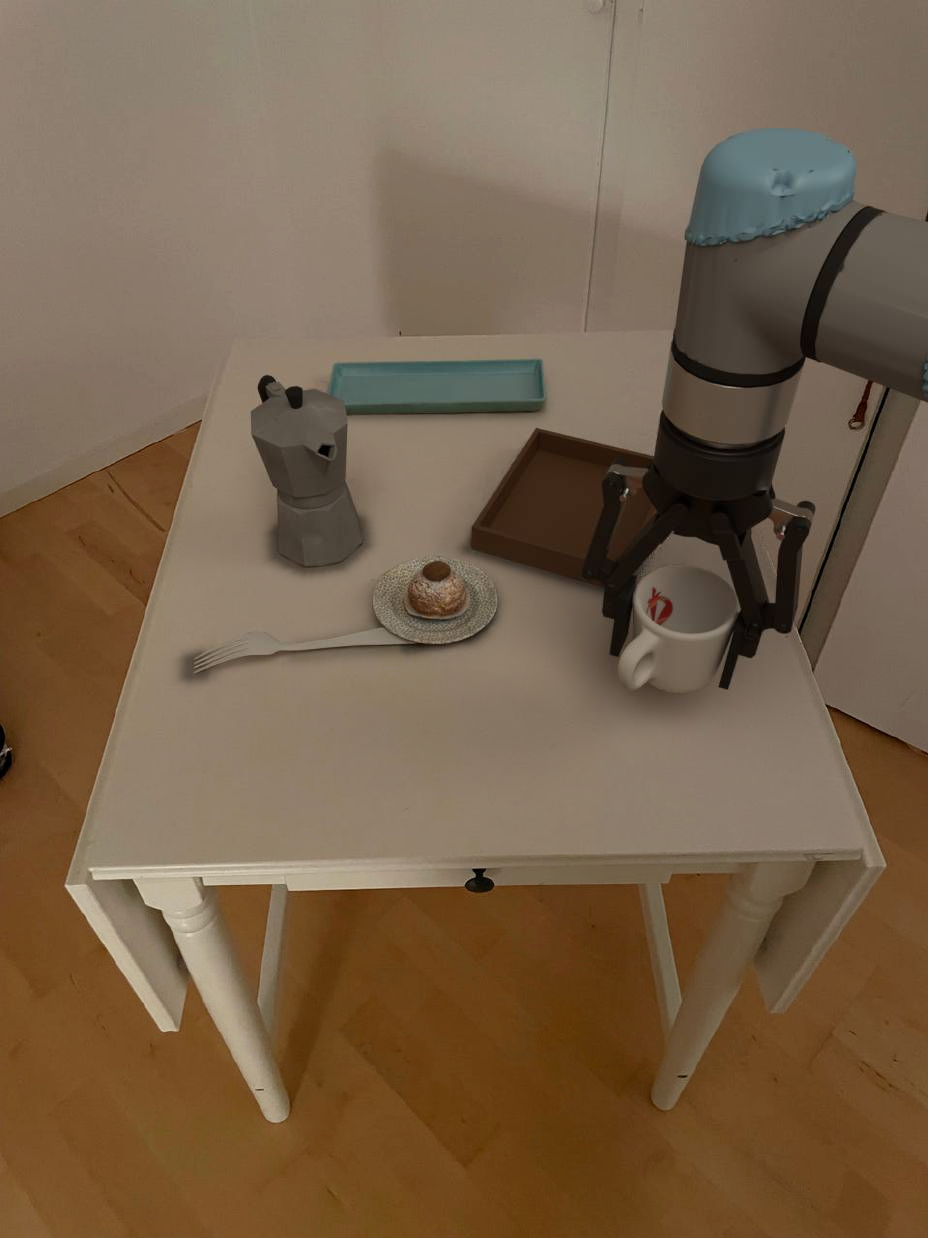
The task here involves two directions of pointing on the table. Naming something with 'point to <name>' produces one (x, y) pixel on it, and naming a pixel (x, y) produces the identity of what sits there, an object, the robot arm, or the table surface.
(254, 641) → the fork
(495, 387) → the shallow long dish
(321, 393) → the coffeepot
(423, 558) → the pastry
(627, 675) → the cup
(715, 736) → the table surface
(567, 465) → the tray
